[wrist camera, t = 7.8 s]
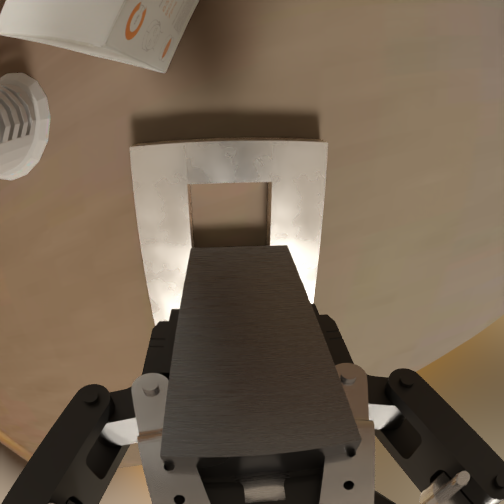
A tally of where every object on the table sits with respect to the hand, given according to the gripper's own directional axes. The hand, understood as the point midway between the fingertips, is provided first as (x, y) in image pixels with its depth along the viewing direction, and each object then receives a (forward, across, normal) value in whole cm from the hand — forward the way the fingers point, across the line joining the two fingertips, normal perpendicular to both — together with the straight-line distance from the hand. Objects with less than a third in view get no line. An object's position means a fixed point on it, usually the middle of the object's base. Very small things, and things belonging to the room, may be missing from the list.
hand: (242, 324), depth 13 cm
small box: (+14, +6, -16) cm, 22 cm away
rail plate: (+14, 0, +6) cm, 15 cm away
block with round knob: (+3, 0, 0) cm, 3 cm away
